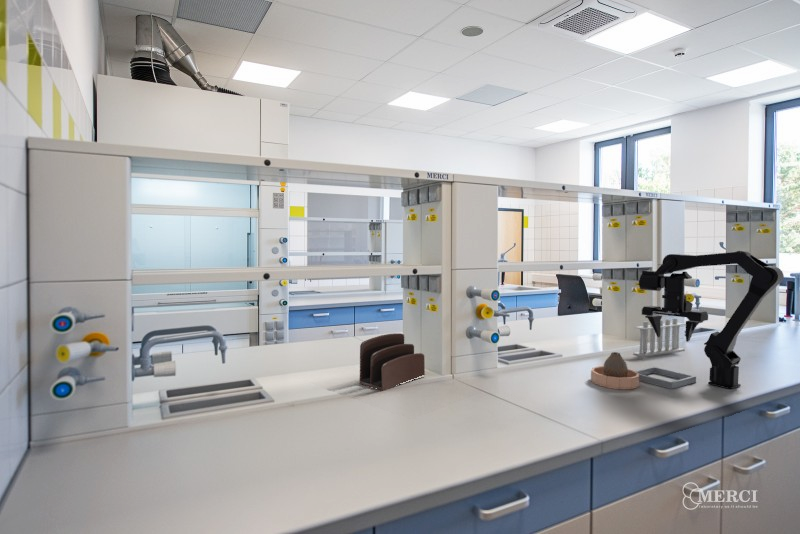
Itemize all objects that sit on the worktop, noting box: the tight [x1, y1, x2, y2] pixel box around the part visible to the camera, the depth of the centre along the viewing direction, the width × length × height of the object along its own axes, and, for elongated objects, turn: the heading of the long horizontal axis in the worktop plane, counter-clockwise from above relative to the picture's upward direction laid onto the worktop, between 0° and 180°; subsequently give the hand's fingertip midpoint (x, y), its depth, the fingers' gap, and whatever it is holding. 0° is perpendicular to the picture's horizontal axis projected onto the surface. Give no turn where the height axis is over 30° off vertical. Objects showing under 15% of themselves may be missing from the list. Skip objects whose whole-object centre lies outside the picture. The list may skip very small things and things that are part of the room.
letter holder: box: [359, 333, 426, 392], centre depth 149 cm, size 10×20×14 cm, turn 138°
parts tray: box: [634, 366, 697, 390], centre depth 152 cm, size 14×14×2 cm
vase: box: [602, 351, 629, 378], centre depth 149 cm, size 7×7×9 cm
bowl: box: [590, 365, 640, 390], centre depth 149 cm, size 13×13×3 cm
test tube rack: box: [632, 317, 686, 358], centre depth 190 cm, size 25×4×13 cm, turn 116°
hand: (672, 339), depth 158 cm, fingers open, 9 cm apart
